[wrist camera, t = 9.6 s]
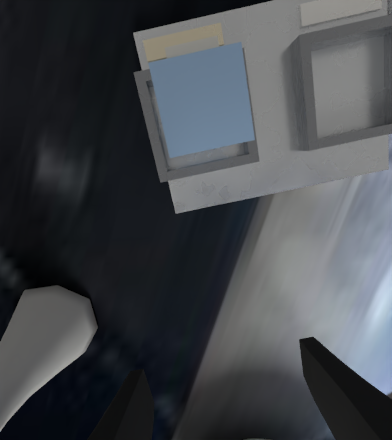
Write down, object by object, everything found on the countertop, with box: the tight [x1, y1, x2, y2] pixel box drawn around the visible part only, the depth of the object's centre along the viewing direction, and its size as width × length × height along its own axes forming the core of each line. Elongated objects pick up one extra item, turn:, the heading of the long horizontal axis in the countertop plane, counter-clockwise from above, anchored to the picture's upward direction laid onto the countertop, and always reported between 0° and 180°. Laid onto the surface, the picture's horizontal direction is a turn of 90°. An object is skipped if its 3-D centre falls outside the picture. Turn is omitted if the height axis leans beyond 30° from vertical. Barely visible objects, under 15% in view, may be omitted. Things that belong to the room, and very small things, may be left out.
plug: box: [148, 36, 255, 158], centre depth 14 cm, size 4×5×6 cm
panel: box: [133, 0, 392, 213], centre depth 17 cm, size 17×12×3 cm
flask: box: [0, 285, 98, 431], centre depth 18 cm, size 7×7×10 cm
